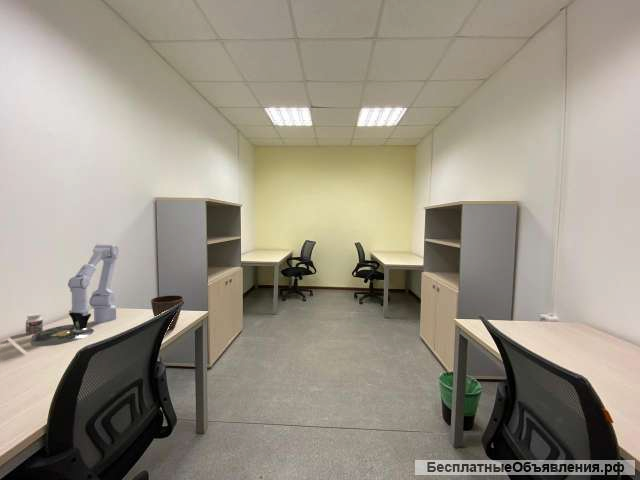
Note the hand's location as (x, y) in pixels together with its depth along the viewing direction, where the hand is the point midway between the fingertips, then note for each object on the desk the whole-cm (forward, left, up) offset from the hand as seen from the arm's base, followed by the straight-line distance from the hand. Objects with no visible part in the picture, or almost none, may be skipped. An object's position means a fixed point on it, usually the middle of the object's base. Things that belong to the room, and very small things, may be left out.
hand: (80, 327), depth 134 cm
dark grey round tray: (+6, 0, -3) cm, 7 cm away
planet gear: (0, 0, -2) cm, 2 cm away
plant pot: (-28, +28, -4) cm, 40 cm away
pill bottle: (+12, -18, -4) cm, 22 cm away
